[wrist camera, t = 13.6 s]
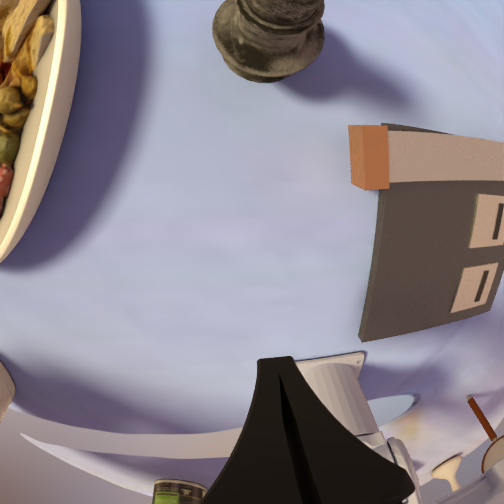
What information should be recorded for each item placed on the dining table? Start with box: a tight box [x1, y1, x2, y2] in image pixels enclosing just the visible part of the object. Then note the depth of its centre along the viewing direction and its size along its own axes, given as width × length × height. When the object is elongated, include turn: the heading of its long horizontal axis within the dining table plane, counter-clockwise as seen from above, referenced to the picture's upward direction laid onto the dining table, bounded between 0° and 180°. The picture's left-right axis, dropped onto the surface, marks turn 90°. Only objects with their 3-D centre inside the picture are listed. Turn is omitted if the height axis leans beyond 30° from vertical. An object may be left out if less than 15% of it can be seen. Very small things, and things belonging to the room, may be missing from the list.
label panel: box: [358, 123, 504, 342], centre depth 20 cm, size 18×18×2 cm
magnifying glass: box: [467, 396, 504, 474], centre depth 25 cm, size 9×2×20 cm, turn 133°
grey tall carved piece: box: [213, 0, 325, 82], centre depth 9 cm, size 6×6×12 cm
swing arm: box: [348, 125, 504, 190], centre depth 15 cm, size 18×4×2 cm, turn 97°
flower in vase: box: [431, 456, 462, 492], centre depth 42 cm, size 13×11×25 cm
